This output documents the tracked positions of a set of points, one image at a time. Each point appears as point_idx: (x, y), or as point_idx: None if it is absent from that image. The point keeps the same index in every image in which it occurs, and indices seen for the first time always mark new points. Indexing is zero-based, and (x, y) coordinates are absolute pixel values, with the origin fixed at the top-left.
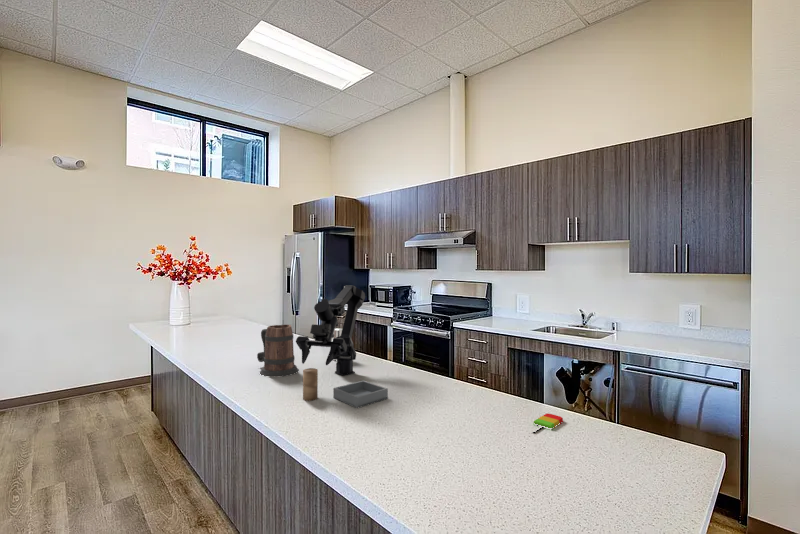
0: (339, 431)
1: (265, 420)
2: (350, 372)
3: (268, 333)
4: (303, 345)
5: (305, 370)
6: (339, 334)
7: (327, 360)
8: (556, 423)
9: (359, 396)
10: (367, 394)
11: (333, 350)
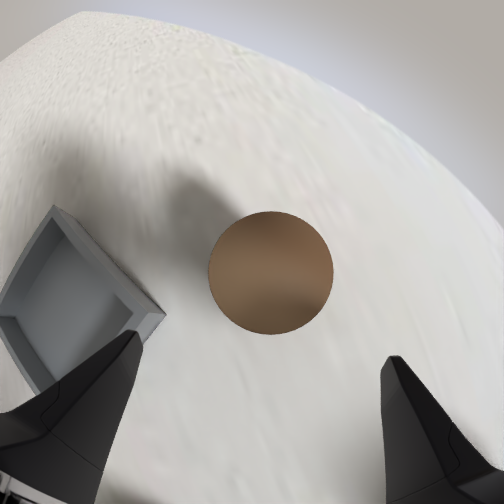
0: (119, 82)
1: (327, 87)
2: None
3: None
4: (493, 491)
5: (308, 252)
6: None
7: (109, 349)
8: None
9: (47, 216)
10: (27, 244)
11: (16, 414)
